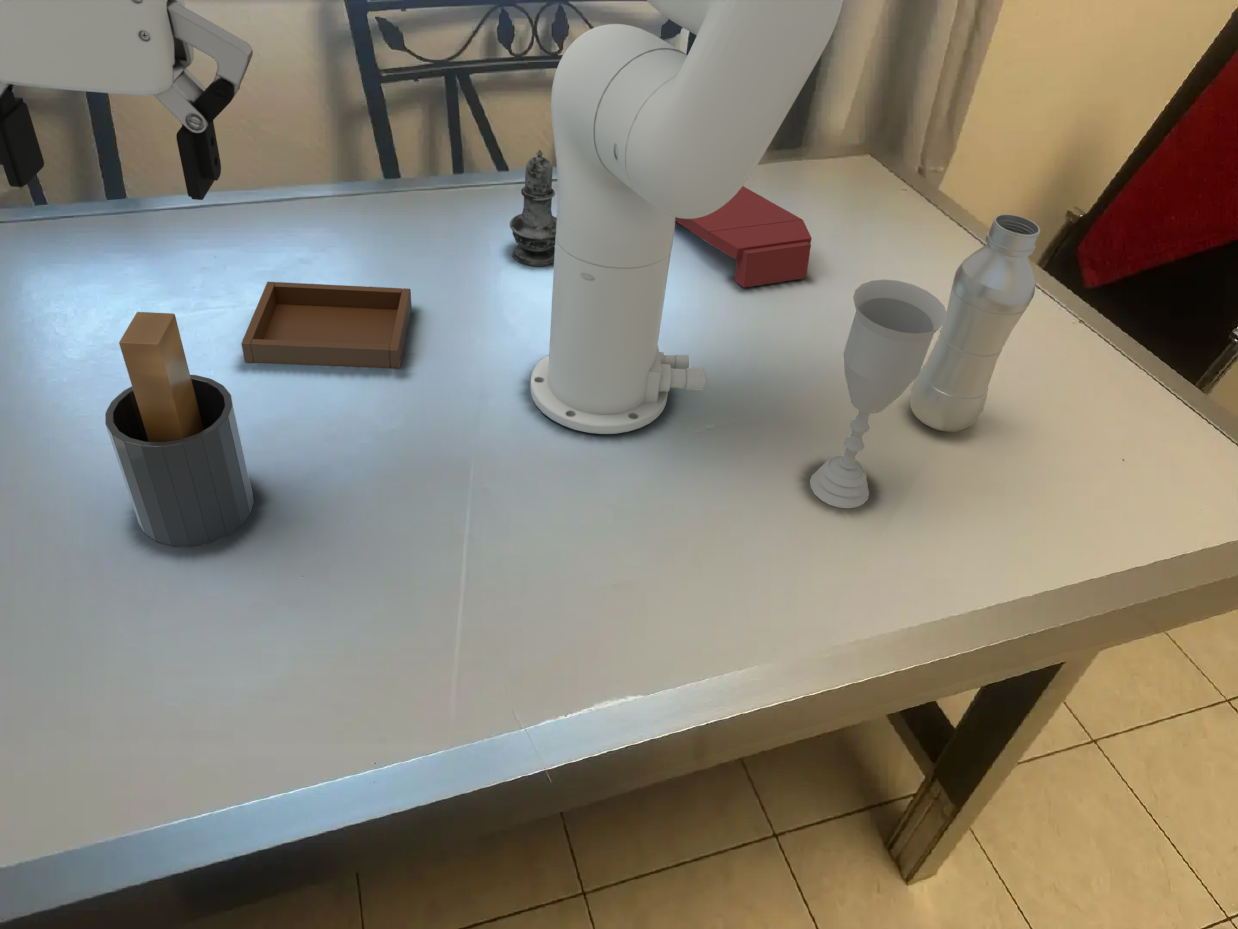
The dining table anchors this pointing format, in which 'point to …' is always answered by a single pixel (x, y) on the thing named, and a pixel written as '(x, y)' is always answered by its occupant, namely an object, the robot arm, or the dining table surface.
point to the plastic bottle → (977, 326)
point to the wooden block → (160, 377)
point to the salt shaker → (536, 216)
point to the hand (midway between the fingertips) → (116, 183)
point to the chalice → (878, 372)
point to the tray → (329, 325)
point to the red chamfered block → (756, 238)
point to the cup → (184, 470)
